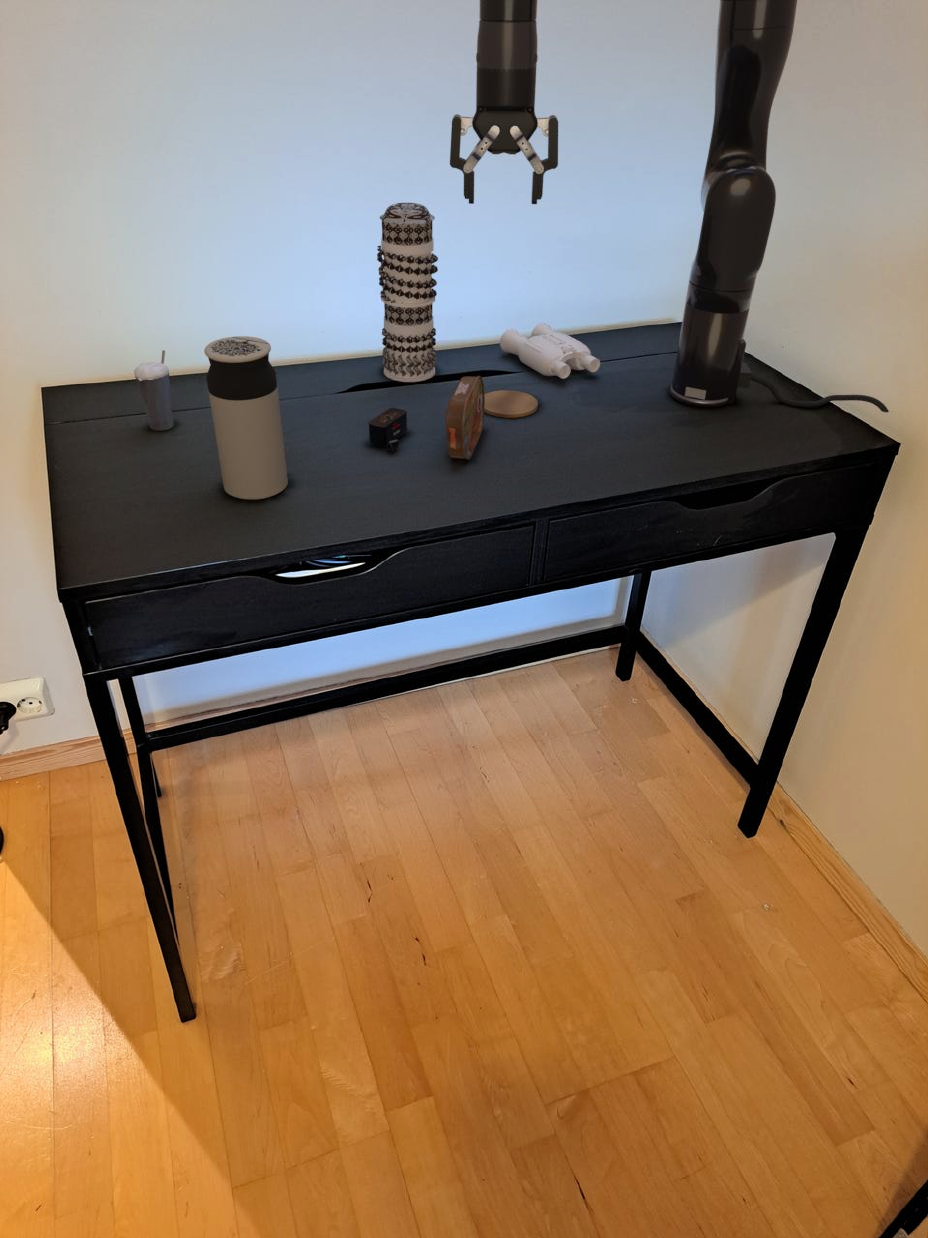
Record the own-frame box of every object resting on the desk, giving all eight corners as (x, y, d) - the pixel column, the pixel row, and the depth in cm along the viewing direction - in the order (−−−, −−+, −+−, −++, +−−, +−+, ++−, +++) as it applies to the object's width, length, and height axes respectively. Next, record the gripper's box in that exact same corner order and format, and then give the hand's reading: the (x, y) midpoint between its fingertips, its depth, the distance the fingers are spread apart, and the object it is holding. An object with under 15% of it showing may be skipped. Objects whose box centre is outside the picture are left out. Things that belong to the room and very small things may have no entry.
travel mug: (258, 508, 109) (238, 364, 99) (210, 490, 113) (186, 349, 102) (301, 482, 115) (287, 343, 104) (254, 466, 118) (236, 330, 108)
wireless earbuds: (364, 447, 123) (363, 425, 121) (392, 428, 128) (391, 406, 127) (393, 455, 122) (392, 432, 120) (420, 435, 127) (419, 413, 125)
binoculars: (548, 345, 157) (550, 318, 154) (604, 375, 146) (608, 347, 143) (498, 354, 153) (499, 327, 150) (551, 387, 142) (554, 358, 139)
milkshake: (189, 421, 129) (177, 353, 123) (164, 435, 125) (150, 365, 119) (163, 415, 131) (150, 347, 125) (138, 429, 127) (123, 359, 121)
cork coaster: (537, 394, 139) (537, 390, 139) (538, 418, 132) (539, 414, 132) (479, 392, 139) (479, 388, 139) (477, 416, 132) (477, 412, 132)
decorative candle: (369, 374, 144) (362, 207, 129) (402, 357, 151) (399, 196, 136) (416, 387, 141) (414, 216, 126) (448, 369, 147) (450, 204, 132)
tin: (465, 470, 118) (466, 410, 113) (442, 467, 119) (442, 407, 114) (486, 423, 130) (488, 367, 125) (464, 421, 131) (465, 365, 126)
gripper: (561, 60, 115) (553, 197, 125) (450, 59, 116) (451, 196, 125) (565, 66, 109) (556, 209, 119) (448, 65, 110) (449, 208, 119)
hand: (502, 202), depth 122 cm, fingers open, 8 cm apart
